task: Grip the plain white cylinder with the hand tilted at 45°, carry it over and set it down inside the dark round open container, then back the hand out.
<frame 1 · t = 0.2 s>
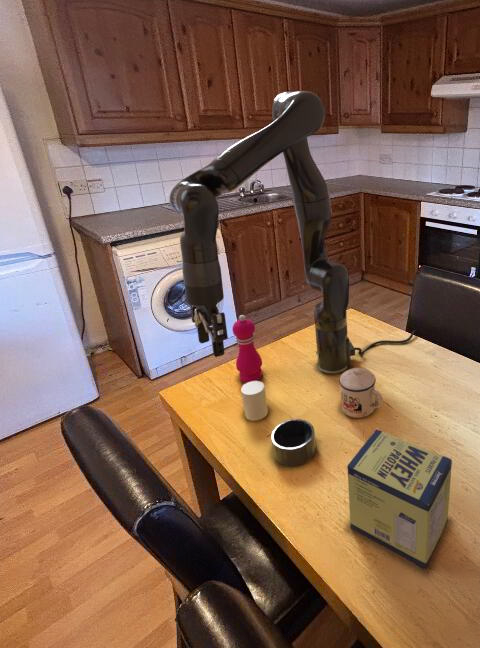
hand: (211, 348, 93), 22 cm above the table, tool pointing down, fingers open, 8 cm apart
dark round open container: (294, 450, 94), on the table
teacup with lid: (362, 409, 107), on the table
plain white cylinder: (256, 413, 106), on the table
protein box: (399, 525, 77), on the table
pepper mill: (251, 376, 121), on the table
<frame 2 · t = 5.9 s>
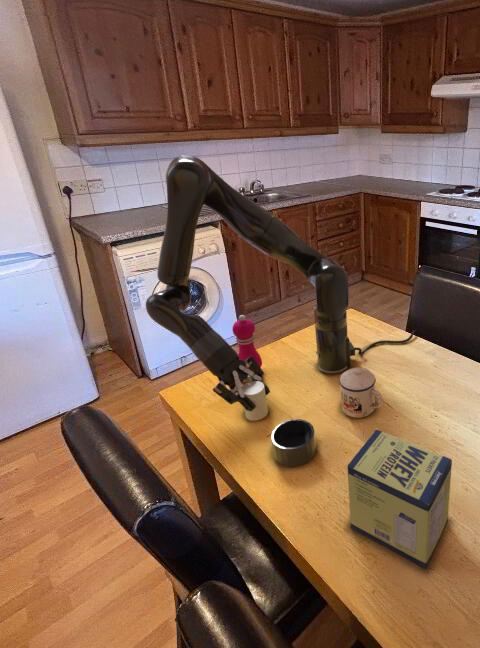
hand: (260, 401, 104), 4 cm above the table, tool tilted 45°, fingers closed on plain white cylinder, 5 cm apart
plain white cylinder: (256, 413, 106), on the table, touching gripper
everything else where it was.
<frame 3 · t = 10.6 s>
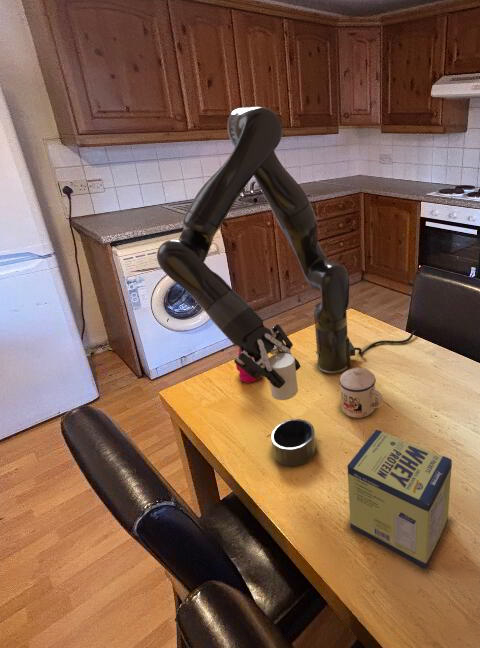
hand: (290, 377, 87), 20 cm above the table, tool tilted 45°, fingers closed on plain white cylinder, 5 cm apart
plain white cylinder: (284, 391, 89), point 16 cm above the table, touching gripper
everything else where it was.
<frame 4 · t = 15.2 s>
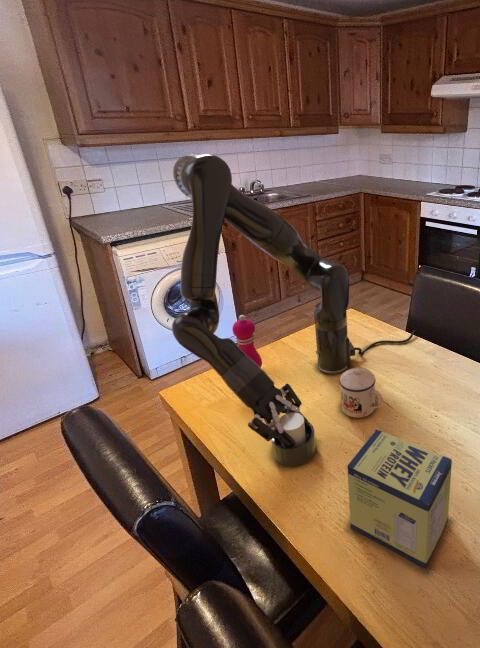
hand: (299, 436, 92), 5 cm above the table, tool tilted 45°, fingers closed on plain white cylinder, 5 cm apart
plain white cylinder: (294, 448, 94), point 1 cm above the table, touching dark round open container, gripper
everything else where it was.
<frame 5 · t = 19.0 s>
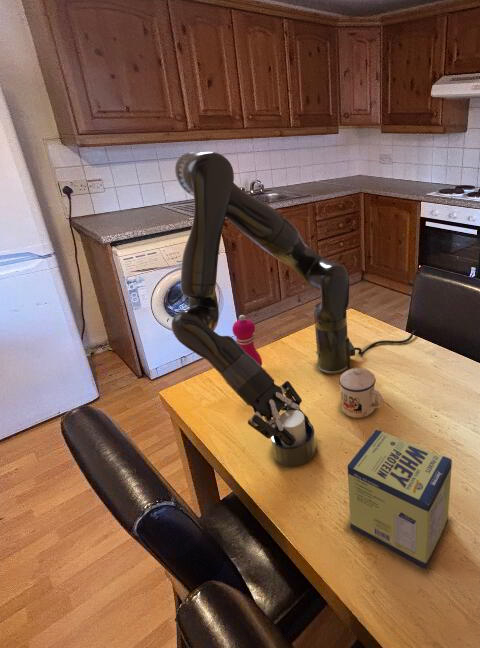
hand: (299, 433, 91), 5 cm above the table, tool tilted 45°, fingers closed on plain white cylinder, 5 cm apart
plain white cylinder: (294, 446, 94), point 1 cm above the table, touching gripper
everything else where it was.
when the fingers open (6 cm above the table, at t = 22.7 s): plain white cylinder drops 1 cm, resting on dark round open container.
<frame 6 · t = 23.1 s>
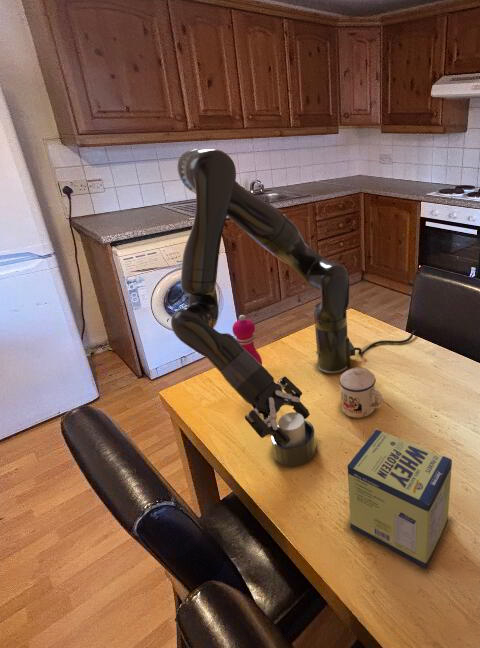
hand: (297, 429, 91), 7 cm above the table, tool tilted 45°, fingers open, 8 cm apart
plain white cylinder: (294, 448, 94), point 1 cm above the table, touching dark round open container
everything else where it was.
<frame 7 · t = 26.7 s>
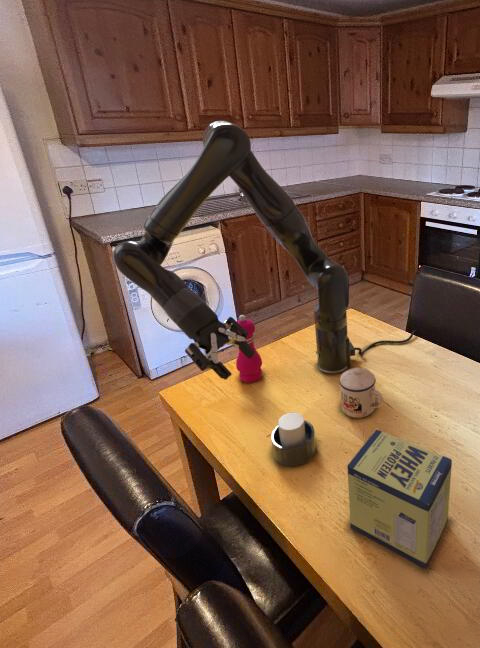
hand: (241, 366, 92), 19 cm above the table, tool tilted 45°, fingers open, 8 cm apart
nothing on the table moved.
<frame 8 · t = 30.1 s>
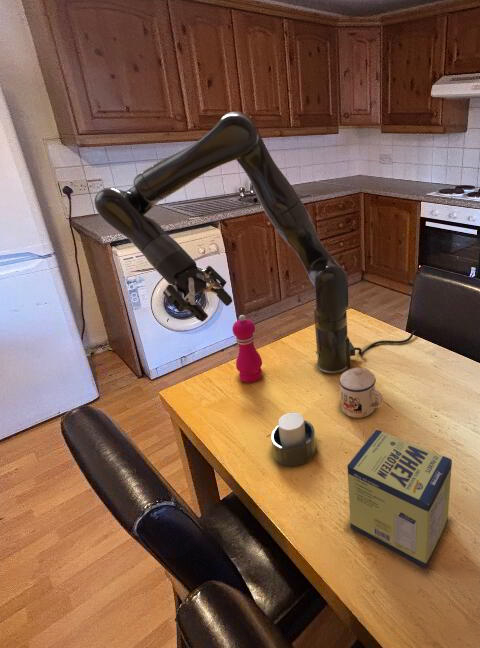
hand: (218, 311, 96), 29 cm above the table, tool tilted 45°, fingers open, 8 cm apart
nothing on the table moved.
at the end: plain white cylinder 0.1 cm off-centre in the dark round open container, point 0.6 cm above the dark round open container's base; plain white cylinder tilted 0°; the gripper is holding nothing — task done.
